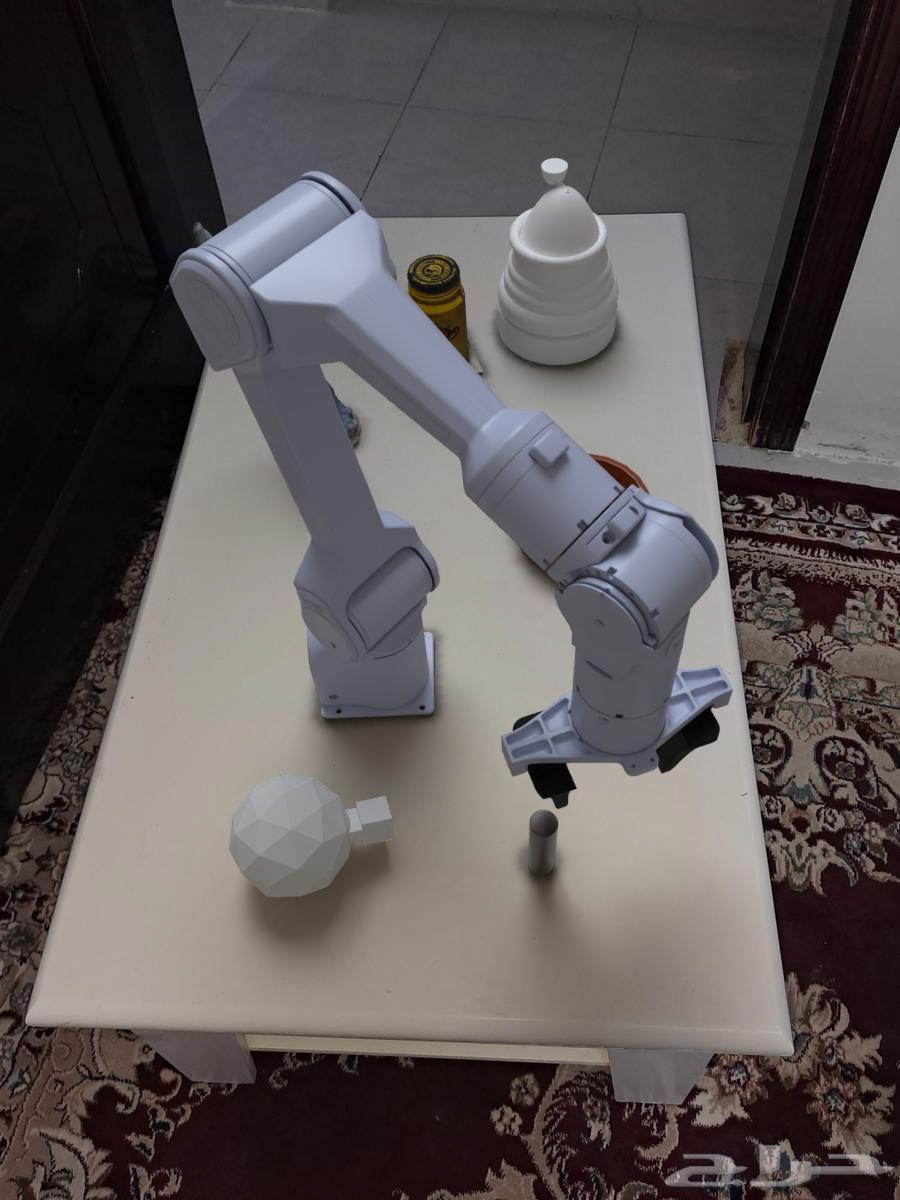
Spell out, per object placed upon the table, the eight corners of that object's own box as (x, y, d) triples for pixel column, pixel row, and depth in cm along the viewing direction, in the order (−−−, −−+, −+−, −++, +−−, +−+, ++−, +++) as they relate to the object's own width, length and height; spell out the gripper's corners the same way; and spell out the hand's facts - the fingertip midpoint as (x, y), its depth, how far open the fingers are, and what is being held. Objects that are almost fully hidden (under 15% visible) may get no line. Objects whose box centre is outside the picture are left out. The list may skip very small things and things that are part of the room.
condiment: (418, 390, 105) (409, 297, 95) (397, 339, 110) (386, 246, 100) (483, 373, 106) (480, 280, 96) (459, 323, 111) (455, 230, 101)
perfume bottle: (242, 936, 72) (404, 899, 74) (224, 853, 66) (399, 816, 69) (231, 845, 78) (380, 813, 81) (214, 763, 73) (374, 732, 76)
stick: (528, 876, 75) (530, 837, 68) (527, 850, 76) (528, 809, 70) (555, 875, 75) (559, 836, 68) (553, 849, 76) (557, 808, 70)
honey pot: (479, 307, 112) (475, 159, 98) (581, 275, 115) (592, 126, 100) (528, 379, 105) (531, 231, 91) (636, 343, 108) (656, 193, 93)
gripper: (530, 775, 54) (530, 865, 65) (772, 693, 56) (732, 794, 67) (486, 670, 58) (493, 772, 69) (714, 597, 60) (685, 708, 71)
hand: (608, 777), depth 68 cm, fingers open, 7 cm apart
